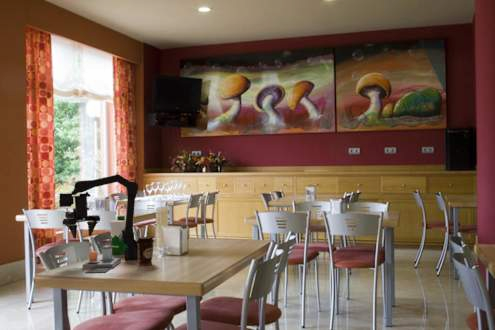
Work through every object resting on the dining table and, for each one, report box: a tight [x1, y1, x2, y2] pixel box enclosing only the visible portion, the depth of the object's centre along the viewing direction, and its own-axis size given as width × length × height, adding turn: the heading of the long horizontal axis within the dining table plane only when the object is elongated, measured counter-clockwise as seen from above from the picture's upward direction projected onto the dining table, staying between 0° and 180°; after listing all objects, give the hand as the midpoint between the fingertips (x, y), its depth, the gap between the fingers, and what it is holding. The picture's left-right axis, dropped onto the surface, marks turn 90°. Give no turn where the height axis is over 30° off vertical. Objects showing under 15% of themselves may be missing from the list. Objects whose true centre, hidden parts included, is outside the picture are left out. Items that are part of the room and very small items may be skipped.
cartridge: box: [101, 245, 113, 261], centre depth 265 cm, size 5×5×8 cm
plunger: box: [88, 250, 98, 262], centre depth 257 cm, size 4×4×4 cm
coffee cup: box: [136, 236, 155, 266], centre depth 262 cm, size 9×8×13 cm
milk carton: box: [108, 215, 127, 256], centre depth 296 cm, size 9×9×20 cm
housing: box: [82, 257, 122, 270], centre depth 262 cm, size 14×16×2 cm
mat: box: [85, 268, 112, 274], centre depth 248 cm, size 9×9×1 cm
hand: (82, 237), depth 271 cm, fingers open, 9 cm apart
